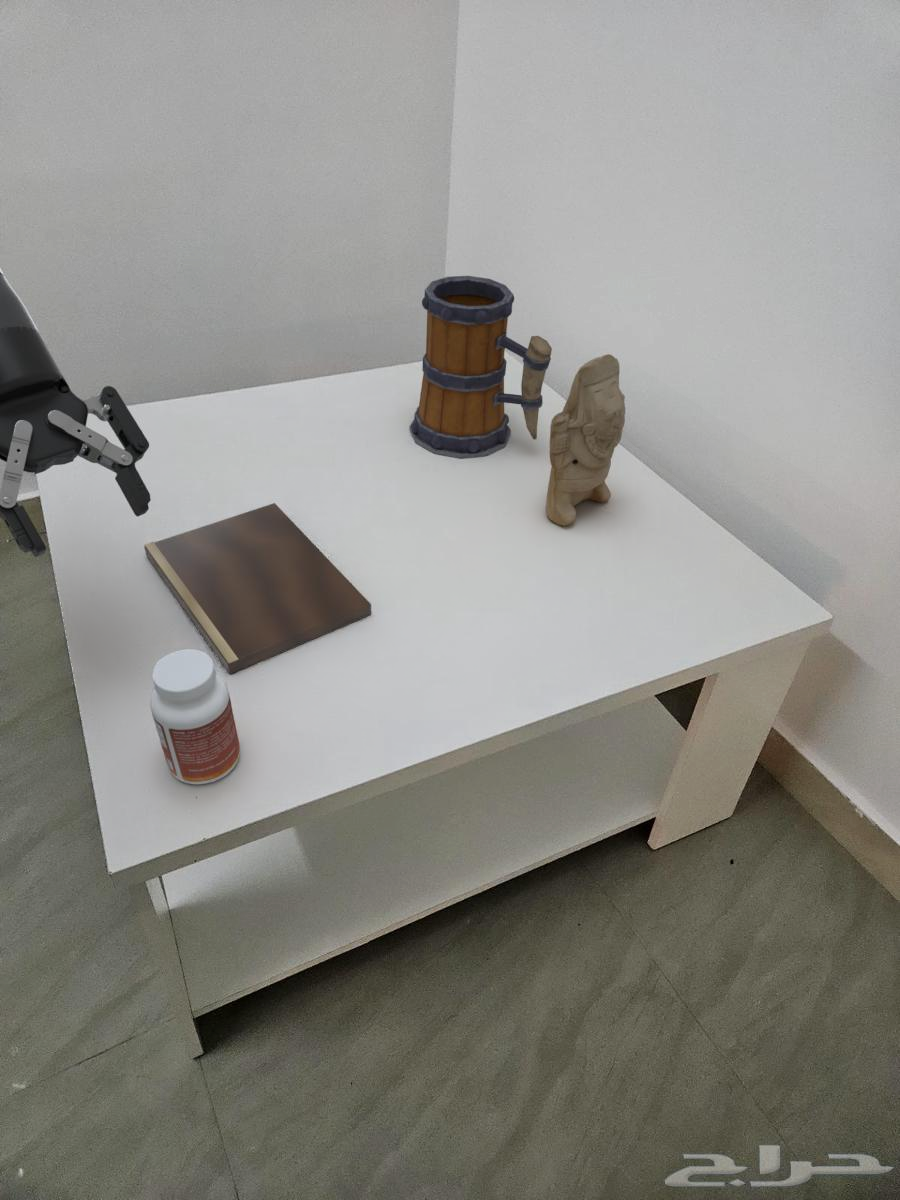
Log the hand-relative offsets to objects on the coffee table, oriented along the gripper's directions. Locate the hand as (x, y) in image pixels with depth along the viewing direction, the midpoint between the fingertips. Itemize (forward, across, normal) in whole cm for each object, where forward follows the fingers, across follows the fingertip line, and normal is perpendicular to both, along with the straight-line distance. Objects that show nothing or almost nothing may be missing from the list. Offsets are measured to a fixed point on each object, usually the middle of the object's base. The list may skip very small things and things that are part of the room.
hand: (94, 532), depth 65 cm
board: (+9, +16, +16) cm, 25 cm away
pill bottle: (+21, 0, +4) cm, 21 cm away
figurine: (+19, +55, +7) cm, 58 cm away
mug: (+4, +58, +22) cm, 62 cm away
